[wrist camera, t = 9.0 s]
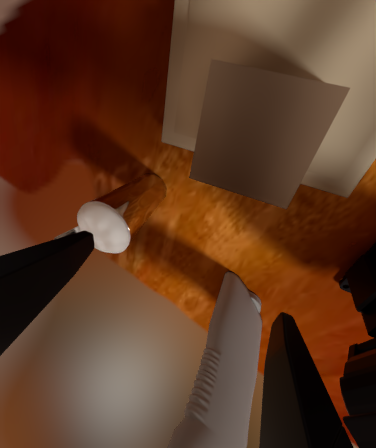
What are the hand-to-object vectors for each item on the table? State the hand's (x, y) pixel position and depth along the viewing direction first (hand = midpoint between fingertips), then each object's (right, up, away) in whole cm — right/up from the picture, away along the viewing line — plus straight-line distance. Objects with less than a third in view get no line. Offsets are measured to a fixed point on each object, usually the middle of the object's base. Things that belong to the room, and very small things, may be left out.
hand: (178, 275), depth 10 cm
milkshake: (-4, +6, +14) cm, 16 cm away
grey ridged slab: (+8, -7, +18) cm, 21 cm away
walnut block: (+5, +9, +4) cm, 11 cm away
